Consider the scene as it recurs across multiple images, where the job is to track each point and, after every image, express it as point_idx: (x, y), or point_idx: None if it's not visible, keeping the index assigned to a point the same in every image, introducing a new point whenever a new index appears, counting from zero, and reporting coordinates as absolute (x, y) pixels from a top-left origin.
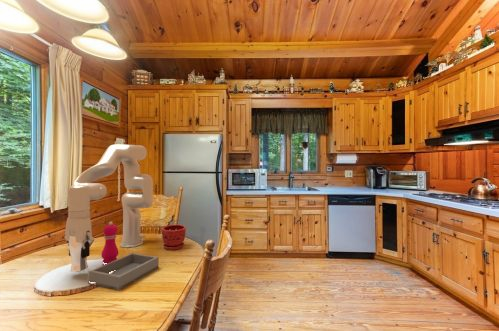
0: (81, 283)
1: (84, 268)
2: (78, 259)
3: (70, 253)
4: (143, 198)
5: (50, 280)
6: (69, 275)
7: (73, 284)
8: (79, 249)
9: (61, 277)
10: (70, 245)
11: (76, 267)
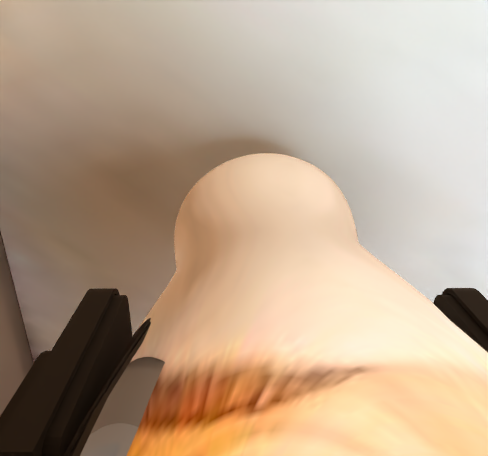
0: (52, 86)
1: (174, 248)
2: (186, 258)
3: (364, 266)
4: None
5: (459, 17)
6: (363, 180)
7: (106, 35)
8: (88, 414)
9: (404, 117)
10: (424, 454)
11: (216, 191)
